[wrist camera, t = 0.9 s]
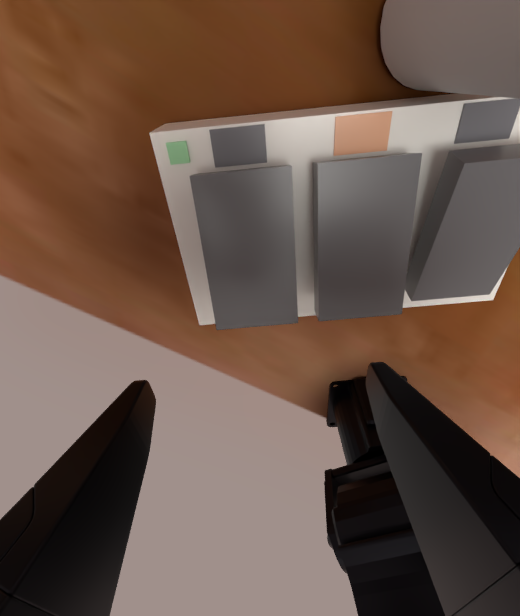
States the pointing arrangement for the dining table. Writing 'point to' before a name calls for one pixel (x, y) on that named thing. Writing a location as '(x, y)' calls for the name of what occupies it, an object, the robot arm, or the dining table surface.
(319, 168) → the block
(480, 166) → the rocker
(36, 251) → the dining table surface
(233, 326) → the block
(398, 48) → the beverage can
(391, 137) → the rocker switch panel
